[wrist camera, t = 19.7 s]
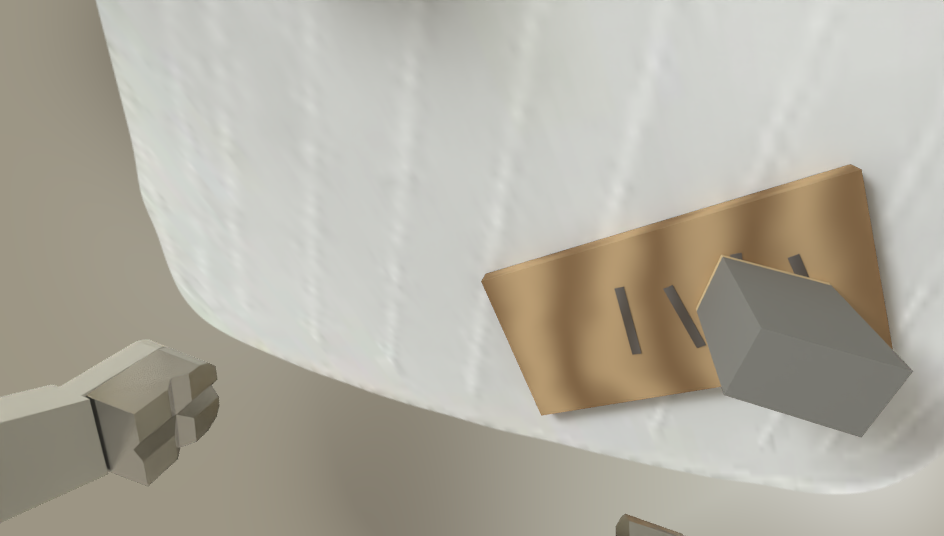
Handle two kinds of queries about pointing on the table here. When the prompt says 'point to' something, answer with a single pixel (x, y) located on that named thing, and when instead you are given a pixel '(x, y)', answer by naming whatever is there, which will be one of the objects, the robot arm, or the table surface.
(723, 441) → the table surface
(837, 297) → the block
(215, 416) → the robot arm
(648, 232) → the oak board
